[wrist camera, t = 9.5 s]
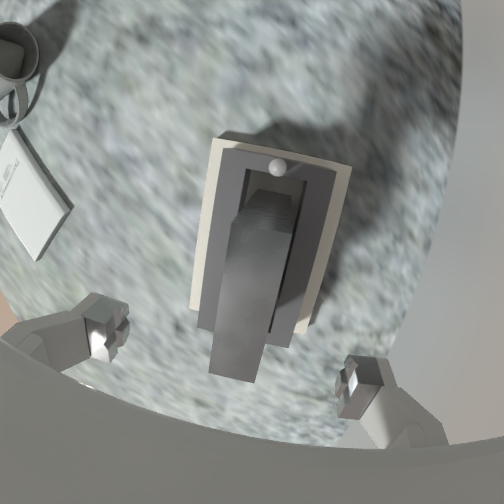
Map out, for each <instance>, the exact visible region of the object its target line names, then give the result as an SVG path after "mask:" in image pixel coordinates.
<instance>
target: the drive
mask: <svg viewBox="0 0 504 504" xmlns="http://www.w3.org/2000/svg"><path fill="white" fill-rule="evenodd" d="M291 237H292V207H291V195H286V194H281V193H277V192H272V191H267V190H262V189H257V190H256V192H255V193H254V194H253V195H252V197H251V198H250V199H249V200H248V202H247V203H246V204H245V205H244V207H243V208H242V209H241V211H240V212H239V213H238V214H237V216H236V217H235V218H234V220H233V221H232V223H231V228H230V234H229V240H228V247H227V253H226V259H225V265H224V271H223V278H222V284H221V290H220V297H219V303H218V310H217V317H216V323H215V330H214V337H213V344H212V351H211V358H210V365H209V372H208V373H212V374H216V375H220V376H224V377H228V378H232V379H237V380H241V381H246V382H251V383H254V382H255V378H256V375H257V371H258V367H259V364H260V360H261V356H262V353H263V349H264V345H265V341H266V338H267V334H268V330H269V326H270V322H271V318H272V315H273V311H274V307H275V303H276V299H277V295H278V291H279V287H280V283H281V279H282V275H283V271H284V266H285V262H286V258H287V254H288V250H289V245H290V241H291Z"/></svg>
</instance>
